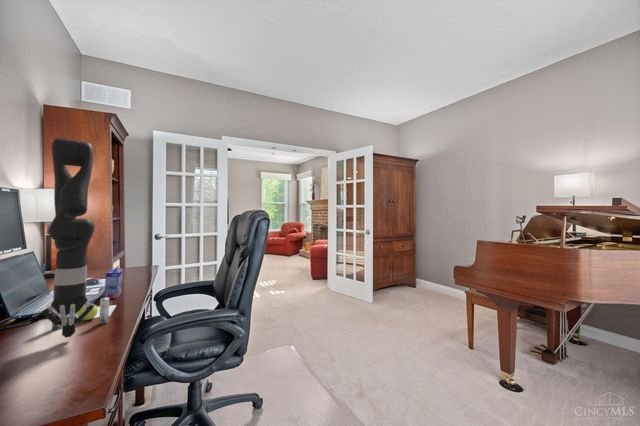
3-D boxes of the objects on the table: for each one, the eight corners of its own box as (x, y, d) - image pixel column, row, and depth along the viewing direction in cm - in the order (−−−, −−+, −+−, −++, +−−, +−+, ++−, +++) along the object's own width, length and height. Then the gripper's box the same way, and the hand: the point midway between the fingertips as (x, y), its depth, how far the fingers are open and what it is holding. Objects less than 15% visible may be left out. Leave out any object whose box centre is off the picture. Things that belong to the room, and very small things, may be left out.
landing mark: (75, 309, 114) (75, 309, 114) (116, 305, 120) (116, 304, 120) (62, 321, 101) (62, 321, 101) (109, 316, 108) (109, 315, 108)
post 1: (53, 327, 96) (54, 302, 96) (63, 326, 97) (64, 301, 97) (50, 330, 93) (51, 304, 93) (60, 329, 95) (61, 303, 95)
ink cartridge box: (118, 298, 130) (119, 267, 130) (103, 299, 128) (105, 268, 128) (122, 292, 139) (123, 264, 139) (108, 293, 136) (109, 264, 136)
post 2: (100, 322, 102) (101, 297, 102) (109, 321, 103) (110, 297, 103) (98, 324, 99) (99, 299, 99) (107, 323, 101) (108, 299, 101)
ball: (77, 323, 102) (81, 308, 106) (97, 321, 105) (100, 306, 109) (73, 317, 98) (77, 301, 102) (94, 315, 101) (97, 300, 105)
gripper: (99, 277, 93) (97, 328, 93) (47, 280, 87) (45, 335, 87) (93, 282, 87) (91, 337, 86) (36, 286, 80) (34, 345, 80)
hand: (68, 336), depth 87 cm, fingers closed
